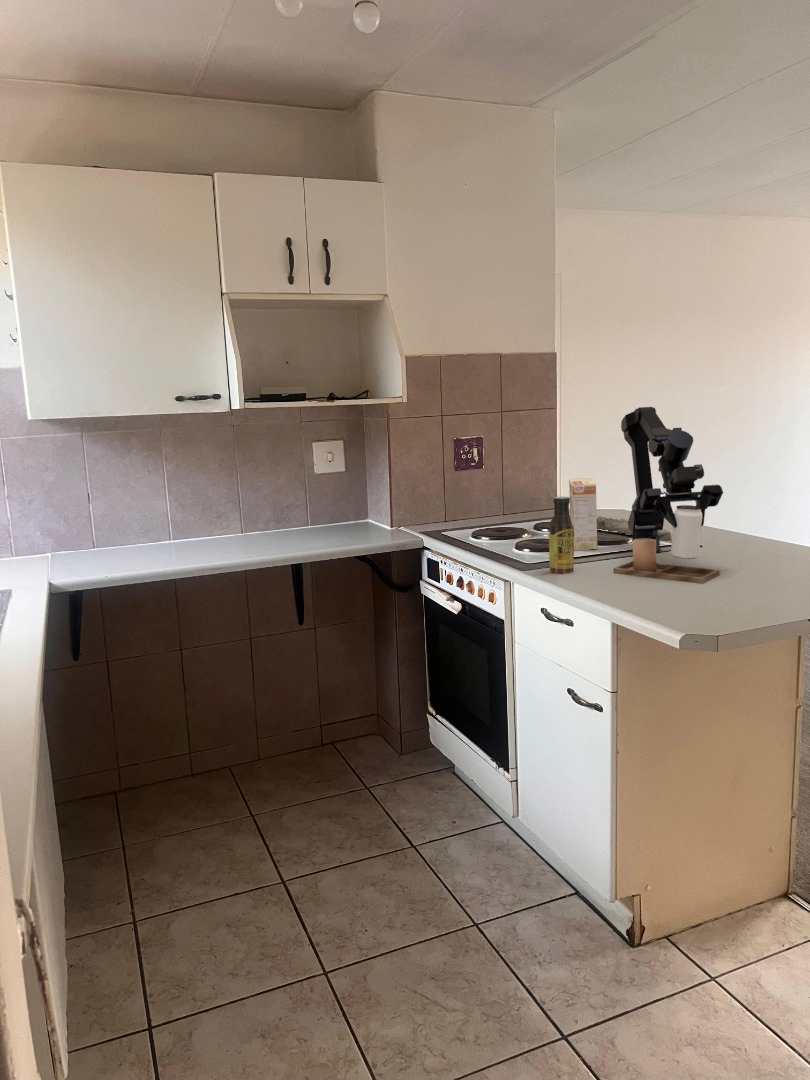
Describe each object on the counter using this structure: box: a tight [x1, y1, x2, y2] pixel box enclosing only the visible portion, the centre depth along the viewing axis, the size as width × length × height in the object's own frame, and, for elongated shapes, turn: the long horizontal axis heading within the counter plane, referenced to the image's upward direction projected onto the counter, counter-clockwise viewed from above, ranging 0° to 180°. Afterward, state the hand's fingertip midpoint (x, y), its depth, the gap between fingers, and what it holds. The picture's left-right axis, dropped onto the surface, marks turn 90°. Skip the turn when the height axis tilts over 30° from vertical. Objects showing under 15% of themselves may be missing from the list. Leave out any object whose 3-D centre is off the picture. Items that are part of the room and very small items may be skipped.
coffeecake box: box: [568, 477, 598, 551], centre depth 242 cm, size 15×7×20 cm, turn 172°
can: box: [670, 504, 703, 560], centre depth 195 cm, size 6×6×12 cm
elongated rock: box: [597, 515, 672, 541], centre depth 258 cm, size 35×5×10 cm
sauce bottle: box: [548, 496, 575, 575], centre depth 208 cm, size 6×6×20 cm
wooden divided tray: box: [612, 560, 721, 585], centre depth 200 cm, size 23×10×2 cm, turn 47°
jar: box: [632, 538, 657, 572], centre depth 203 cm, size 6×6×8 cm
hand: (689, 525), depth 193 cm, fingers closed on can, 6 cm apart
